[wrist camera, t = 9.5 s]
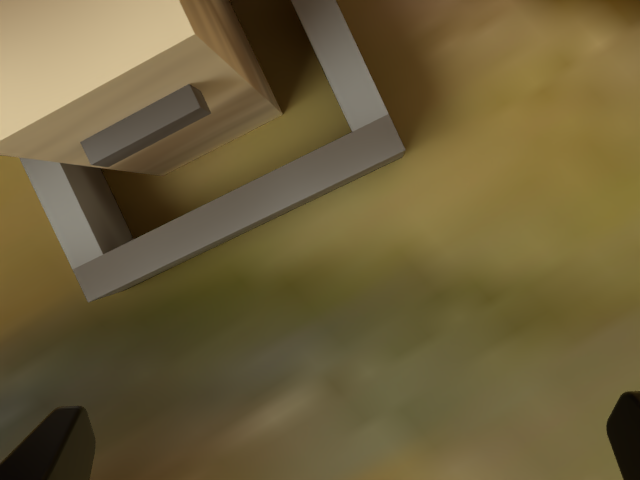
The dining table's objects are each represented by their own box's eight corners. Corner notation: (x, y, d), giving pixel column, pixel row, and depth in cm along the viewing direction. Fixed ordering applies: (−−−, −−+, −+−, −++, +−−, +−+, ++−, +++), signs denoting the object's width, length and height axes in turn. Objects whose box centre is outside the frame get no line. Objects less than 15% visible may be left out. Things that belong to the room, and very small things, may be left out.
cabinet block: (290, 129, 19) (208, 63, 10) (169, 190, 20) (-8, 179, 11) (222, -14, 19) (79, -209, 10) (104, 53, 19) (-130, -75, 11)
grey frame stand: (518, 101, 18) (691, -28, 8) (30, 335, 21) (-298, 458, 11) (361, -241, 18) (336, -806, 8) (-111, 39, 20) (-578, -117, 10)
